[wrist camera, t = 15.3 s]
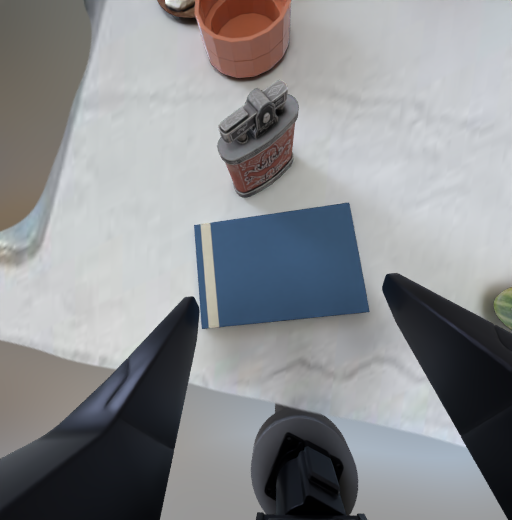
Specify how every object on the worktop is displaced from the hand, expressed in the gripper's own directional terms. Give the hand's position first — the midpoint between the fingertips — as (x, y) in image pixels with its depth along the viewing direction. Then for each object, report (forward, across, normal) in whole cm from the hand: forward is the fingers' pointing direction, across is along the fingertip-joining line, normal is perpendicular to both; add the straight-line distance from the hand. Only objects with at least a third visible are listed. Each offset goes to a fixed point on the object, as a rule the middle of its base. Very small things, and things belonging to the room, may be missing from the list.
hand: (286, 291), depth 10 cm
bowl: (+33, 0, -14) cm, 35 cm away
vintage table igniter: (+20, 0, 0) cm, 20 cm away
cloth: (+12, 0, +8) cm, 14 cm away
